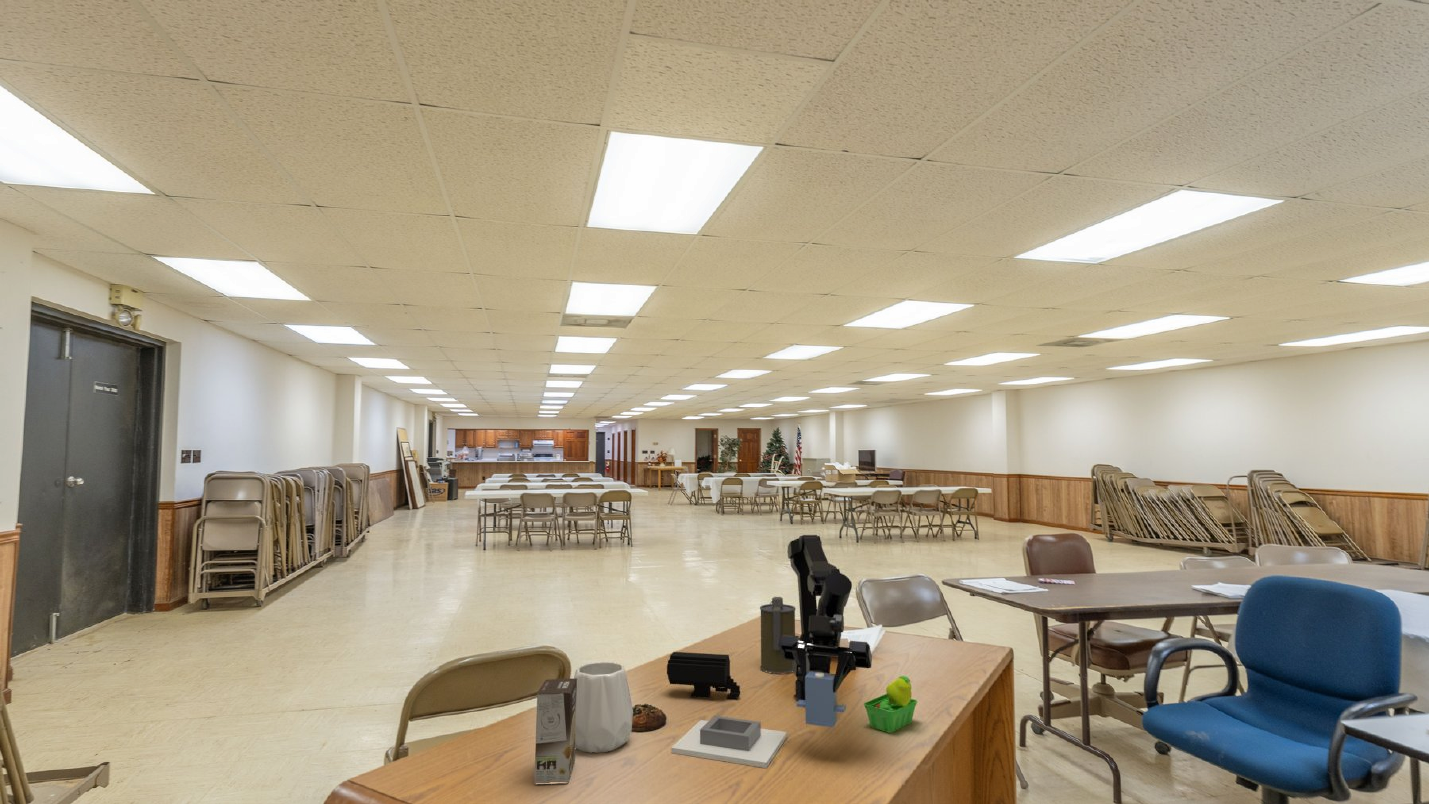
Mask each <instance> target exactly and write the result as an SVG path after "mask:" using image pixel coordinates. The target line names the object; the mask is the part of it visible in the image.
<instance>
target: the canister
mask: <svg viewBox="0 0 1429 804" xmlns="http://www.w3.org/2000/svg"><path fill="white" fill-rule="evenodd" d="M759 610H760V668H761V669H760V670H761V671H762V670H763V671H762V672H764V671H767V672H771V673H770V674H772V673H779V674H778V675H782V674H781V673H788V674H790V673H789V672H792V671H793V667H792V661H791V660H785V659H783V658H782V655H781V652H780V649H779V646H778V644H779V639H780V637H781V636H783V635H792V636H796V607H795V606H793V605H790V604H784V598H783V597H782V596H773V597H772V598H771V601H770V603H769V604H767V603H766V604H763V605H761V606H759ZM792 673H793V672H792Z"/></svg>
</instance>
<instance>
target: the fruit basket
mask: <svg viewBox="0 0 1429 804" xmlns="http://www.w3.org/2000/svg"><path fill="white" fill-rule="evenodd" d="M885 689H886V690H885V691H886V693H883V694H882V695H880V696H877V697H875V698H872V699H871V700H868V701H865V702H863V706H864V708H865V709H866V713H867V717H868V720H869V724H870V725H869V726H870V727H871V728H873V729H876V730H879V731H883V732H886V733H889V734H892V733H894V732H896V731H898V730H900V729H901V728H904V727H906V726H908V725H910V724H912V721H913V716H914V712H915V708H916V705H917V703H918V700H917V699H913V698H912V695H913V694H912V683H911V679H910V678H909V677H908V676H905V675H899V677H898V678H896V679H895V680H893V681H892V682H890V683H889V684H888V685H887V686H886V688H885Z"/></svg>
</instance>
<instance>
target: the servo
mask: <svg viewBox="0 0 1429 804" xmlns="http://www.w3.org/2000/svg"><path fill="white" fill-rule="evenodd" d="M834 678H835V673H831V672H830V673H821V672H812V671H809V672H808V674H807V675H806V676H805V700H798V701H797V702H796V707H798V708H805V724H806V725H813V726H820V727H827V728H834V727H835V725H836V723H837V720H838V713H843V714H844V713H845V711H846V709H847V705H845V704H838V702H837V701H838V700H837V692H836V693H834V692H833V683H834Z"/></svg>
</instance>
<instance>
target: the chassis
mask: <svg viewBox="0 0 1429 804" xmlns="http://www.w3.org/2000/svg"><path fill="white" fill-rule="evenodd" d="M761 725H762V723H761V721H756V720H749V719H741V718H737V717H736V718H733V717H728V716H720V715H713V716H712V717H711V718H710V719H709V720H703V719H700V720H699V721H698V722H697V723H695V725H694V726H693V727H691V728H690V730H688V731H687V732H686V733H685V734H684V735H683V736H682V737H681V738H680V739H679V740H678V741H677V742H676V743H674V744H673V745H672V746H671V750H670V752H671V753H672V754H677V755H681V756H682V755H683V756H689V757H695V758H702V759H708V760H713V761H720V762H726V763H732V764H738V765H744V766H750V767H757V768H763V769H767V768H768V767H769V765H770V763H771V762H772V761H773V759H774V758H775V756H776V754H777V753H778V751H779V750H780V748H781V747H782V746H783V744H784V742H785V741H786V739H787V738H788V732H787V731H782V730H773V729H767V728H761Z"/></svg>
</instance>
